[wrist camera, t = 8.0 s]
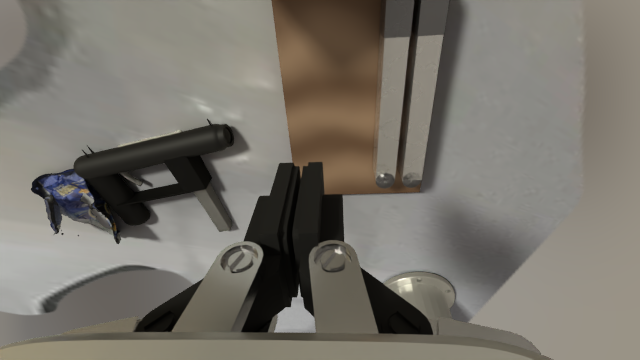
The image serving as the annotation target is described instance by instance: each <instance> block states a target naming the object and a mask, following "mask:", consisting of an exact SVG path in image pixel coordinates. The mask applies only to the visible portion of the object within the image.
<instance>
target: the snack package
mask: <svg viewBox="0 0 640 360" xmlns="http://www.w3.org/2000/svg"><path fill="white" fill-rule="evenodd" d="M51 174H52V173H51ZM51 174H45V175H41V176H39V177H38V178H36V179H35V180H34V181H33V182H32V188H31V190H32V192H34V193H35V194H37V195H39V196H41V197H42V198H43V199H45V200H44V201H45V204H46V212H47V214H48V219H49V220H50V222H51V224H50V225H51V227H52V229H53V230H54V231H55V233H54V234H57V233H58V232H59V229H60V224H61V221H62V215H61V214H63V215H65V216H68V217H69V218H71V219H73V220H74V221H78V222H82V223H89V224H92V225H96V226H97V227H100V228H102V229H104V230H106V231H107V232H109V233H110V234H111V235H113V236H114V238H115V241H116V243H118V244H119V243H120V240H121V237H120V231H117V230H116V225H115V222H114V220H113V216H112V215H111V212H110V210H109V209H108V206H107V204H106V202H105V200H104V199H103V198H102V196H101V195H99V193H98V192H97V191H96V190H95V189H94V188H93V187H92V186H91V185H90V184H89V183H88V181H87V180H86V179H84V178H81V177H80V176H78V175H77V174H76V173H75V171H74V169H69V170H66V171H64V172H61V173H56V174H55V175H51ZM58 174H60V175H61V176H59V175H58ZM48 175H50V176H48ZM83 192H84V193H86V194H87V195H88V196H89V197H91V198H93V199H94V203H93V204H91V207H89V205H88V204H86V203H84V202H81V201H80V199H81V197H82V195H83ZM90 209H92V210H93V209H96V210H97V211H98V212H101V213H102V214H103V215H105V217H106V219H107V221H108V223H109V225H110V227H111V229H108V228H105V227H103V226H102V225H101V224H100V223H99V221H97V220H96V217H97V216H95V215H93V214H92V213H91V210H90ZM61 231H62V230H61ZM62 235H63V233H62ZM78 236H79V235H78Z"/></svg>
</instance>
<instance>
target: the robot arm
mask: <svg viewBox="0 0 640 360" xmlns="http://www.w3.org/2000/svg"><path fill="white" fill-rule="evenodd" d="M299 285H300V292H301V297H303V301H304V307H305V309H306V310H307V311H309V312H310V313H311V314H312V315H313V316H314V317H315V327H316V333H274V330H275V327H276V324H277V318H278V316H277V314H278V313H279V312H280V311H282V310H283V309H284V308H285V307H291V301H292V297H297V295H298V287H299ZM454 301H455V294H454V290H453V288H452V286H451V284H450V283H449V282H448V281H447V280H446V279H444V278H443V277H441V276H439V275H436V274H432V273H427V272H411V273H405V274H401V275H398V276H395V277H393V278H391V279H389V280H387V281H386V282H385V283H381V282H380V281H379V280H377V279H376V278H374V277H373V276H372V275H370V274H369V273H368V272H366V271H365V270H363V269H362V268H361V267H360V265H359V261H358V258H357V254H356V252H355V250H354V249H353V248H352V247H351V246H350V245H349V244H347V243H345V242H344V224H343V197H342V194H325V191H324V175H323V162H308V166H303V170H302V176H301V174H300V167H299V166H295V165H294V163H280V164H279V166H278V170H277V173H276V176H275V180H274V183H273V186H272V190H271V193H270V196H260V197H259V198H258V201H257V204H256V207H255V210H254V213H253V215H252V218H251V221H250V224H249V227H248V230H247V233H246V236H245V238H244V241H243V242H238V243H234V244H232V245H230V246H228V247H226V248H225V249H224V250H222V251H221V253H220V254H219V255H218V256H217V258H216V260H215V261H214V263H213V264H212V266H211V268H210V269H209V271H208V273H207V274H206V276H205V277H204V279H202V280H200V281H199V282H197V283H195V284H194V285H192V286H191V287H189V288H187V289H186V290H185V291H183V292H181V293H179V294H178V295H176V296H175V297H173V298H171V299H170V300H168V301H167V302H165V303H163V304H162V305H160V306H159V307H157V308H155V309H154V310H152V311H151V312H150V313H148V314H147V315H146V316H145V317H144V318H143V319H139V317H138V316H135V317H130V318H126V319H121V320H116V321H111V322H107V323H102V324H97V325H92V326H87V327H82V328H78V329H73V330H70V331H67V332H64V333H62V334H60V335H53V336H46V337H38V338H33V339H28V340H24V341H20V342H15V343H11V344H7V345H4V346H2V347H0V360H553V359H551V358H548V357H546V356H543V355H541V353H540V352H539V350H538V349H537V348H536V347H535V346H534V345H533V344H532V343H531V342H529V341H528V340H526V339H525V338H524V337H522V336H520V335H517V334H514V333H512V332H508V331H503V330H499V329H494V328H489V327H485V326H480V325H475V324H471V323H466V322H461V321H457V320H453V319H452V316H451V313H450V310H449V309H450V308H451V307H452V305H453V303H454Z"/></svg>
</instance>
